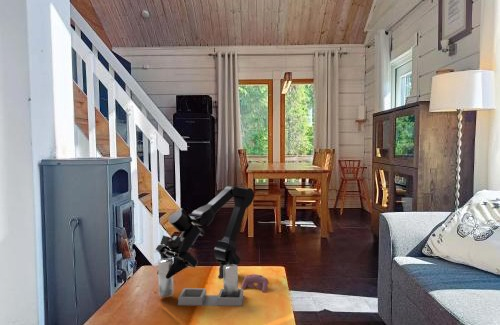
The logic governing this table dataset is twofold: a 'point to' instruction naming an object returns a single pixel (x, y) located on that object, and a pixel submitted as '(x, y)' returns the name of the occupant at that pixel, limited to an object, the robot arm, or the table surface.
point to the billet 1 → (165, 283)
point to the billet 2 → (230, 280)
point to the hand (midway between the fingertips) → (162, 276)
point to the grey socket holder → (208, 298)
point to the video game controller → (255, 279)
